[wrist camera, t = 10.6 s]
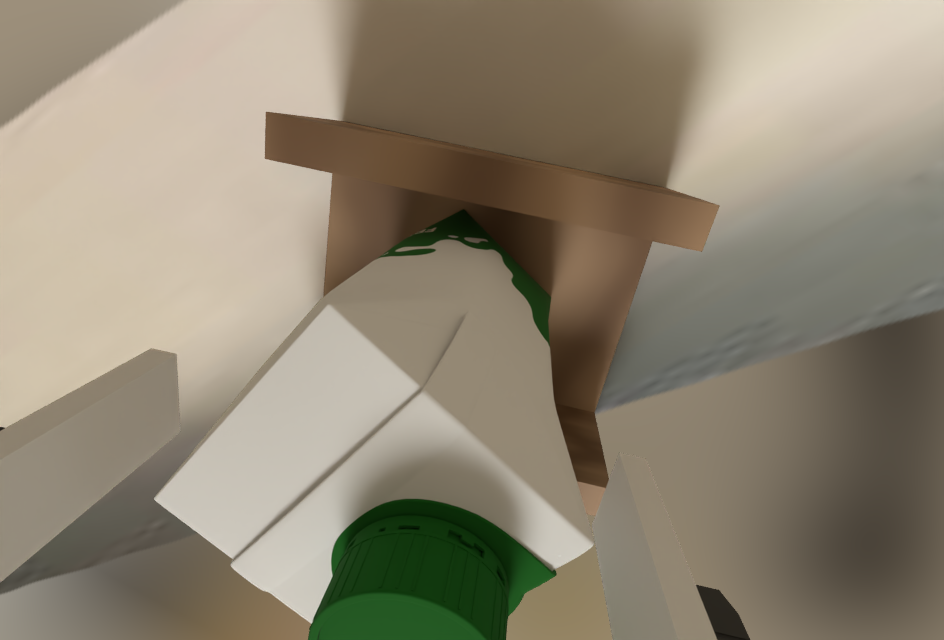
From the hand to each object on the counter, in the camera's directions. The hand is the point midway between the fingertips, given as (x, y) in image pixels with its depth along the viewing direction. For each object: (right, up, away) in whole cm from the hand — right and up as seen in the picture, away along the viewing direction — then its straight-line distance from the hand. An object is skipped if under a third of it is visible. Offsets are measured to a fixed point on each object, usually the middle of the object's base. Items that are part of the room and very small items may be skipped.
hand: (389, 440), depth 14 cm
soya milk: (+2, +5, +14) cm, 15 cm away
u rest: (+3, +5, +14) cm, 16 cm away
